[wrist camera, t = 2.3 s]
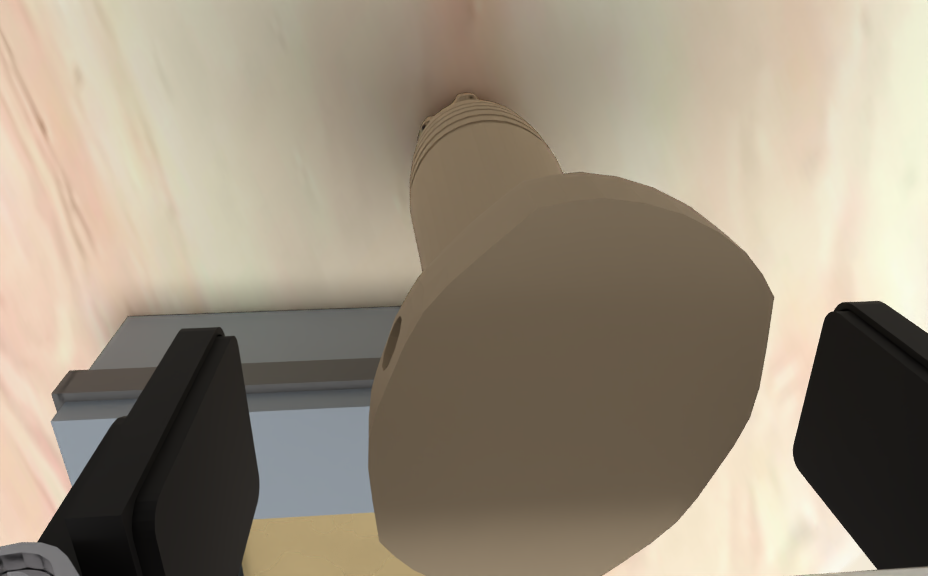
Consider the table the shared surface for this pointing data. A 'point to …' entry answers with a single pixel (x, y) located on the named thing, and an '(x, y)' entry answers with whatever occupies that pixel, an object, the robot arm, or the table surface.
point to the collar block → (256, 399)
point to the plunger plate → (320, 548)
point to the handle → (553, 359)
